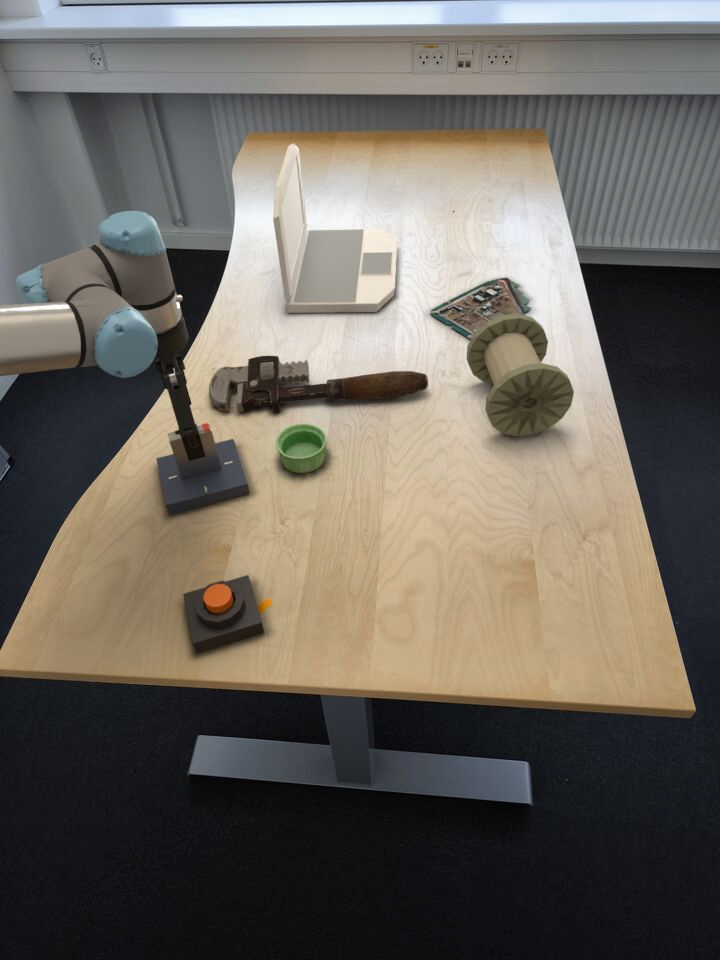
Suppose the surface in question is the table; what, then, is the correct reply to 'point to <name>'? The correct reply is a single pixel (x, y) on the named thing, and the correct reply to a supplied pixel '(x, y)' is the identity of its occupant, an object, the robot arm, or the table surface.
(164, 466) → the dark grey dial base
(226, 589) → the release button
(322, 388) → the pipe wrench
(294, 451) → the ramekin
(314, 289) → the laptop
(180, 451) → the grey upright slab
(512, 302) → the circuit board
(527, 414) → the spool
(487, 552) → the table surface
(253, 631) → the orange push button box
